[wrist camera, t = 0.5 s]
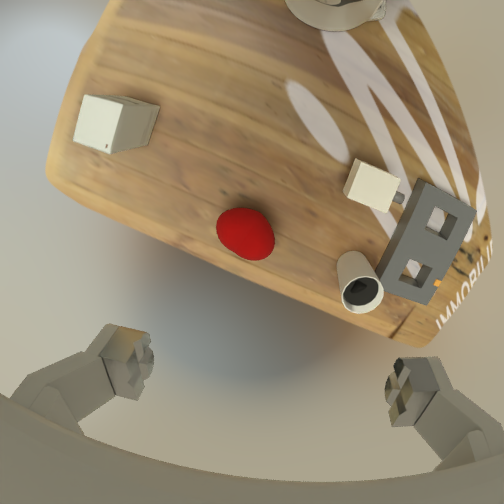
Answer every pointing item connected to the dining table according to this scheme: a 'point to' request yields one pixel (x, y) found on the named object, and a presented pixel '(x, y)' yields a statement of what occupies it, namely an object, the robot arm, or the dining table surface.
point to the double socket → (424, 243)
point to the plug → (372, 186)
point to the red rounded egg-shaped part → (246, 233)
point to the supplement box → (114, 123)
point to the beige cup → (358, 283)
